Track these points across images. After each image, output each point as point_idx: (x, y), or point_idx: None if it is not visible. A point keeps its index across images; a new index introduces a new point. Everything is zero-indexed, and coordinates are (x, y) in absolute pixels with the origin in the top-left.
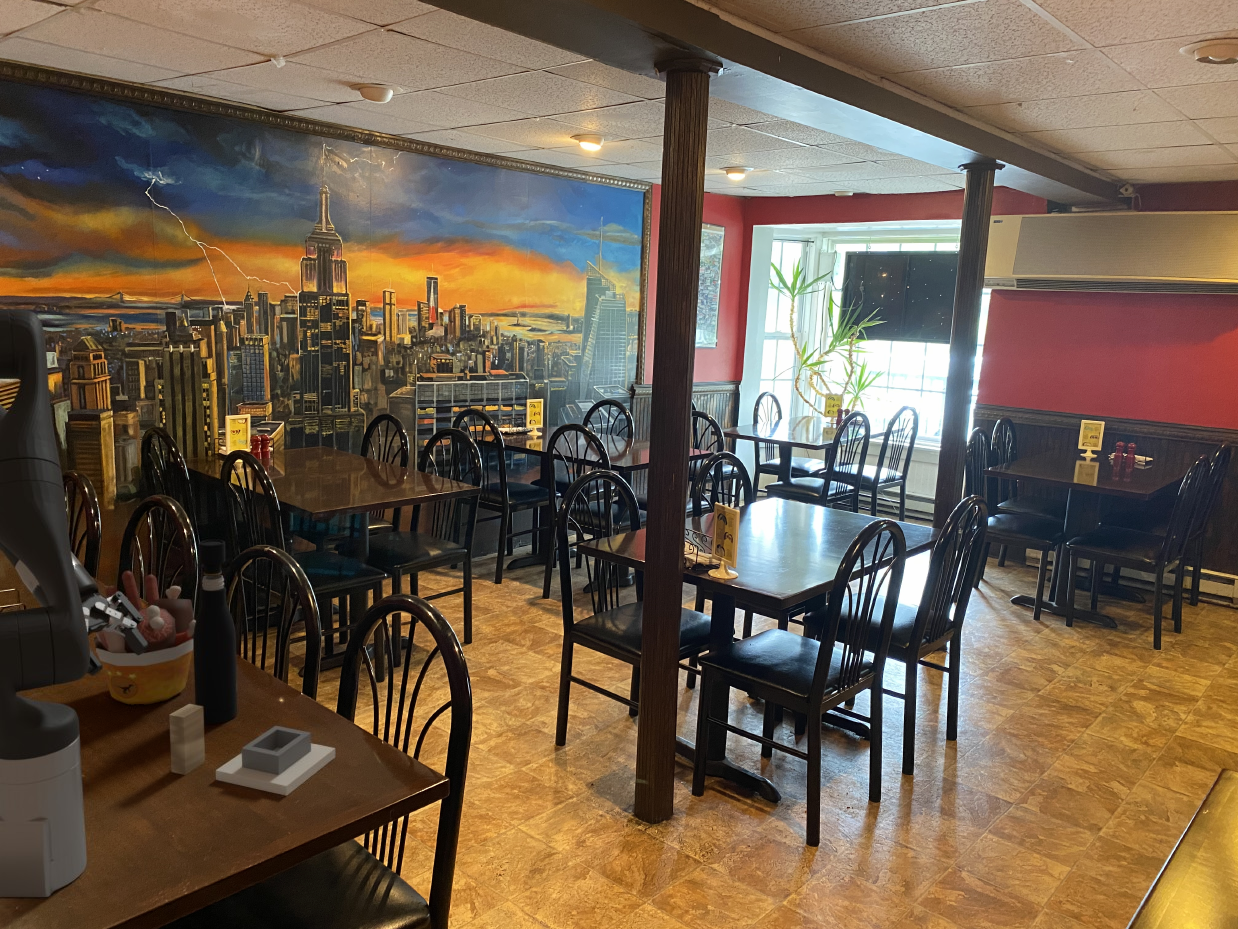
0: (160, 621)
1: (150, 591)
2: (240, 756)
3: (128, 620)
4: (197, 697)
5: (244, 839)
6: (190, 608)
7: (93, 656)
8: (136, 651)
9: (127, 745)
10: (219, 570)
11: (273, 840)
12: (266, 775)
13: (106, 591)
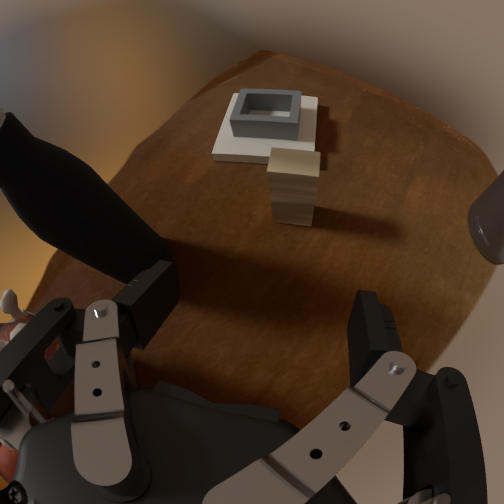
0: (21, 327)
1: None
2: None
3: (91, 325)
4: (146, 264)
5: (388, 111)
6: None
7: (371, 318)
8: (173, 299)
9: (253, 336)
10: None
11: (378, 95)
12: (305, 115)
13: None
